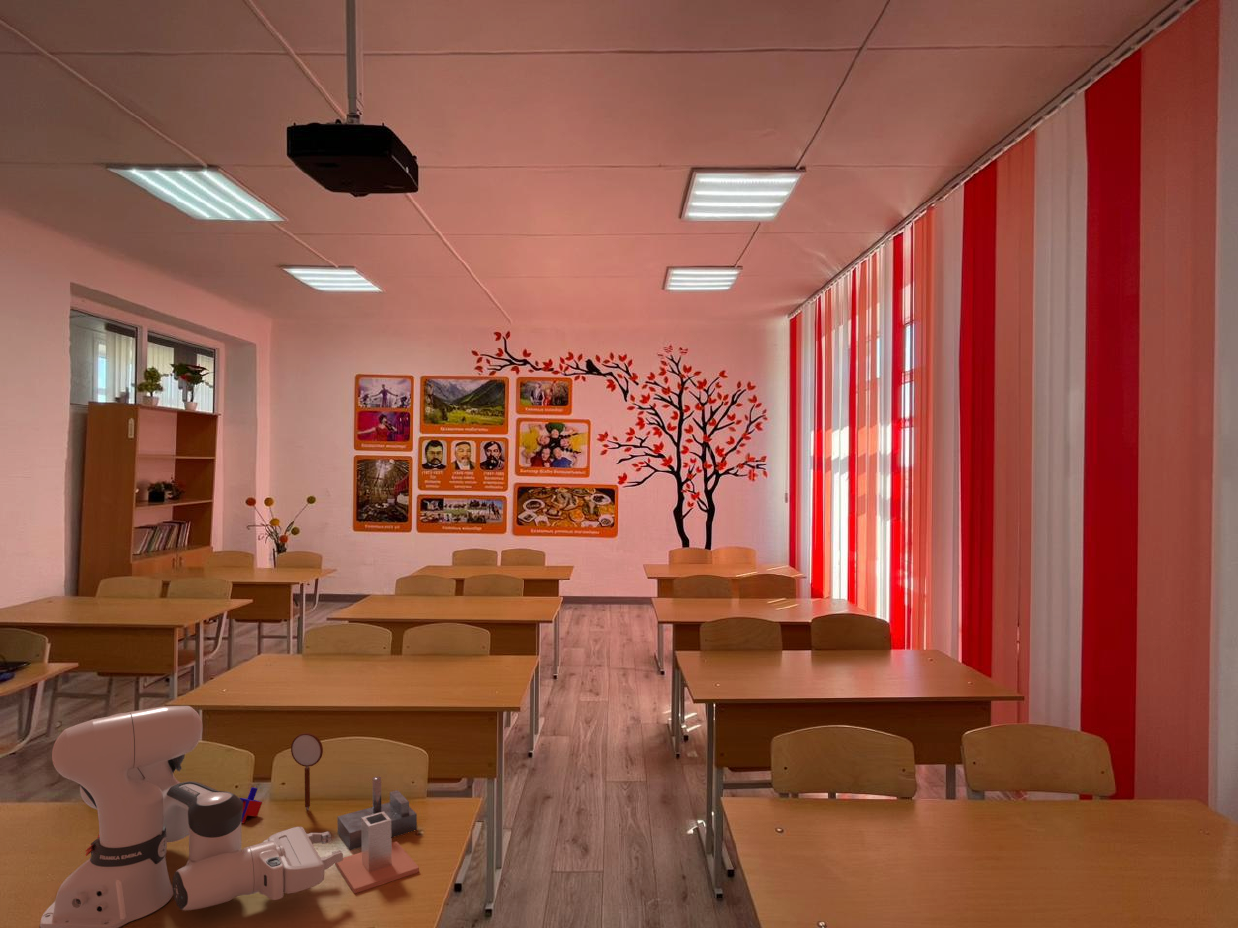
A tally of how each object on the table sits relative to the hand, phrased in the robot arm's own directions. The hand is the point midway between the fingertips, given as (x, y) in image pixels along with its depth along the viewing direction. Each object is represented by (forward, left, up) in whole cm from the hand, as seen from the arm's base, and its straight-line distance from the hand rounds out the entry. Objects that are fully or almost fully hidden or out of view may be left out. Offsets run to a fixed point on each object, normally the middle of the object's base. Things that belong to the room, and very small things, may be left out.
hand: (336, 845), depth 164 cm
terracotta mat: (+8, +4, -8) cm, 12 cm away
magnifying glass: (-15, +35, -8) cm, 39 cm away
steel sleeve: (+8, +4, -7) cm, 11 cm away
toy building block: (-29, +33, -8) cm, 45 cm away
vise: (+5, +21, -8) cm, 23 cm away
